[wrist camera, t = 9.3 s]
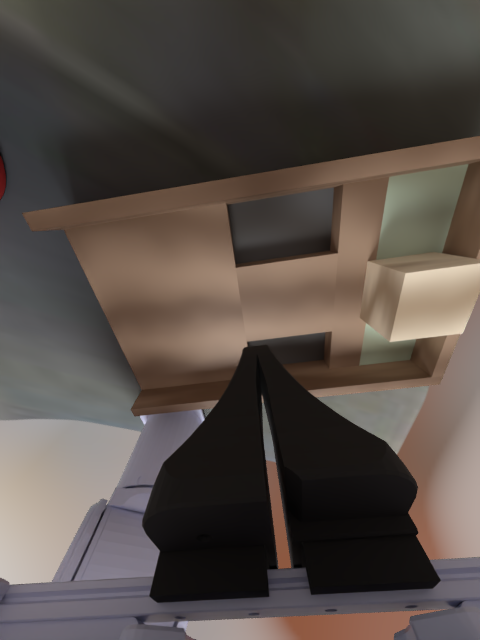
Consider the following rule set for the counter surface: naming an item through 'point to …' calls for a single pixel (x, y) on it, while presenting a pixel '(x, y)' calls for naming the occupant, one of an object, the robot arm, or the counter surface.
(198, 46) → the counter surface
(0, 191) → the canned food
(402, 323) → the block
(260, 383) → the robot arm
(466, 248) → the trough
